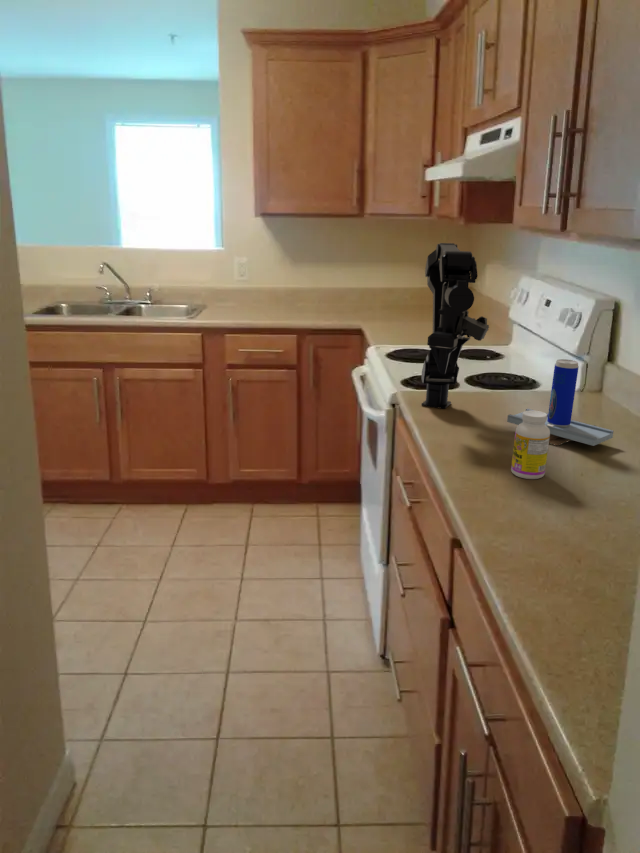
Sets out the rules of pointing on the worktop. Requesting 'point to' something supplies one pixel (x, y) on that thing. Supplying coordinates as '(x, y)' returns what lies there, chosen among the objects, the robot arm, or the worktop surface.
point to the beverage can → (562, 392)
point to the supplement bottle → (531, 446)
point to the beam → (573, 430)
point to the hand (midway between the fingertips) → (448, 370)
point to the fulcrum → (557, 439)
